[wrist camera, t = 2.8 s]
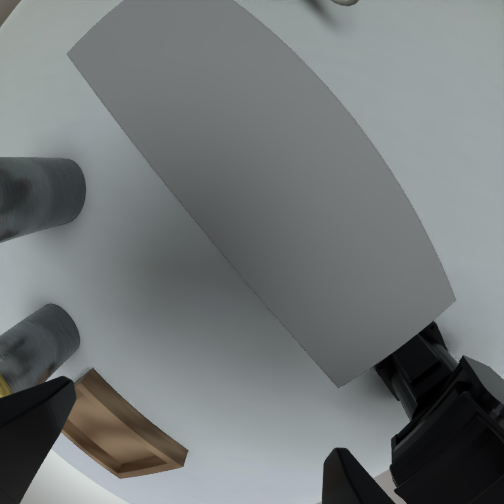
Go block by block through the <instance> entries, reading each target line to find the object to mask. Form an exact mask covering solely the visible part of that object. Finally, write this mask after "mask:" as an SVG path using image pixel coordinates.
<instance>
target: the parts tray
mask: <svg viewBox="0 0 504 504" xmlns="http://www.w3.org/2000/svg"><path fill="white" fill-rule="evenodd" d="M74 386H75V391H76V396H77V397H76V402H75V404H74V406H73V408H72V410H71V412H70V414H69V416H68V418H67V421H66V423H65V425H64V427H63V429H62V431H61V432H62V433H63V434H64V435H65V436H66V437H67V438H68V439H69V440H70V441H72V442H73V443H74V444H75V445H76V446H77V447H79V448H80V449H81V450H82V451H83V452H85V453H86V454H87V455H88V456H90V457H91V458H92V459H93V460H95V461H96V462H97V463H99V464H100V465H101V466H103V467H104V468H105V469H107V470H108V471H110V472H111V473H112V474H114V475H115V476H117V477H118V478H120V479H122V478H129V477H136V476H142V475H148V474H153V473H158V472H163V471H168V470H172V469H177V468H181V467H183V466H184V463H185V459H186V456H187V453H188V450H187V449H186V448H184V447H183V446H181V445H180V444H179V443H177V442H176V441H174V440H173V439H172V438H170V437H169V436H168V435H166V434H165V433H164V432H162V431H161V430H160V429H159V428H157V427H156V426H155V425H154V424H152V423H151V422H150V421H149V420H147V419H146V418H145V417H144V416H143V415H141V414H140V413H139V412H138V411H137V410H136V409H135V408H133V407H132V406H131V405H130V404H129V403H128V402H127V401H126V400H125V399H123V398H122V397H121V396H120V395H119V394H118V393H117V392H116V391H115V390H114V389H113V388H112V387H111V386H110V385H109V384H108V383H107V382H106V381H105V380H104V379H103V378H102V377H101V376H100V375H99V374H98V373H97V372H96V371H95V370H94V369H91V370H90V371H89V372H88V373H86V374H85V375H84V376H83V377H81V378H80V379H79V380H78V381H76V382H75V383H74Z"/></svg>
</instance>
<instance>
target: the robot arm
mask: <svg viewBox="0 0 504 504" xmlns="http://www.w3.org/2000/svg"><path fill="white" fill-rule="evenodd" d="M431 326H432V327H431ZM430 327H431V328H430ZM459 362H460V363H459V364H458V363H457V362H456V361H455V360H454V359H453V357H452V356H451V355H450V354H449V353H448V351H447V348H446V346H445V343H444V341H443V338H442V336H441V333H440V331H439V329H438V326H437V324H436V323H435V322H434V321H432V322H431V323H430V324H429V325H427V326H426V327H425V328H424V329H423V330H421V331H420V332H419V333H418V334H416V335H415V336H414V337H413V338H411V339H410V340H409V341H407V342H406V343H405V344H404V345H402V346H401V347H400V348H398V349H397V350H395V351H394V352H393V353H391V354H390V355H389V356H387V357H386V358H384V359H383V360H382V361H380V362H379V363H377V364H376V365H374V368H375V369H376V371H377V372H378V374H379V375H380V377H381V378H382V379H383V381H384V382H385V384H386V385H387V387H388V388H389V389H390V391H391V392H392V394H393V395H394V396H395V398H396V399H397V401H400V402H401V404H402V406H403V408H404V410H405V412H406V414H407V416H408V418H409V420H410V422H409V423H408V424H407V425H406V426H405V427H404V428H403V429H402V430H401V431H400V432H399V433H398V434H396V435H395V436H394V437H393V438H392V439H391V448H392V464H391V465H390V472H391V476H392V479H393V482H394V484H395V485H396V487H397V488H396V489H395V490H394V492H395V493H396V494H397V495H398V496H400V497H401V498H402V499H403V500H404V501H405V502H406V503H407V504H504V380H503V379H502V378H501V377H500V376H499V375H498V374H497V373H496V372H495V371H493V370H492V369H491V368H490V367H489V366H487V365H484V364H482V363H480V362H478V361H475V360H473V359H471V358H469V357H467V356H464V355H463V356H462V358H461V359H460V361H459ZM379 365H381V366H379ZM378 366H379V367H378ZM76 397H77V396H76V391H75V386H74V382H73V381H72V380H71V379H69V378H67V377H65V376H60V377H58V378H55V379H52V380H50V381H47V382H44V383H41V384H39V385H36V386H33V387H30V388H27V389H24V390H22V391H19V392H16V393H13V394H10V395H7V396H4V397H1V398H0V504H20V502H21V500H22V498H23V496H24V494H25V493H26V491H27V489H28V487H29V485H30V484H31V482H32V480H33V478H34V476H35V474H36V473H37V471H38V469H39V468H40V466H41V464H42V463H43V461H44V459H45V458H46V456H47V454H48V453H49V451H50V449H51V448H52V446H53V444H54V443H55V441H56V440H57V438H58V436H59V435H60V433H61V431H62V429H63V427H64V425H65V423H66V421H67V418H68V416H69V414H70V412H71V410H72V408H73V406H74V404H75V402H76ZM322 504H395V503H394V502H393V501H392V499H391V498H390V497H389V496H388V495H387V494H386V493H385V492H384V491H383V489H382V488H381V487H380V486H379V485H378V484H377V483H376V482H375V480H374V479H373V478H372V477H371V476H370V475H369V474H368V472H367V471H366V470H365V469H364V468H363V467H362V466H361V464H360V463H359V462H358V461H357V460H356V458H355V457H354V456H353V455H352V454H351V453H350V451H349V450H348V449H347V448H334V449H333V450H332V452H331V453H330V454H329V456H328V457H327V458H326V460H325V462H324V468H323V488H322Z"/></svg>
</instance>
